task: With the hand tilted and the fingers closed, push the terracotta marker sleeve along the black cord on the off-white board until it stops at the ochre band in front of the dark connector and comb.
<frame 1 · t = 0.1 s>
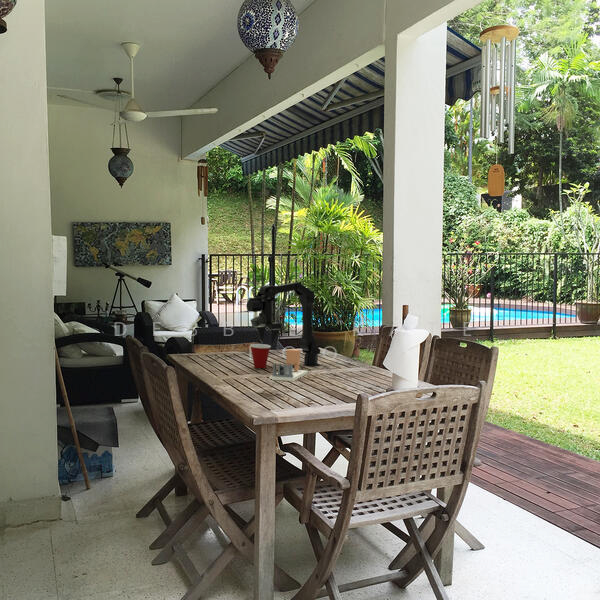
hand: (266, 341, 322), 15 cm above the table, tool pointing down, fingers open, 9 cm apart
fibre cord: (288, 368, 307), on the cord board, point 4 cm above the table
connector and comb: (283, 369, 302), on the cord board, point 4 cm above the table
cord board: (288, 376, 308), on the table
marker sleeve: (293, 360, 313), point 7 cm above the table, slide at 0.0 cm
plastic cup: (260, 368, 332), on the table
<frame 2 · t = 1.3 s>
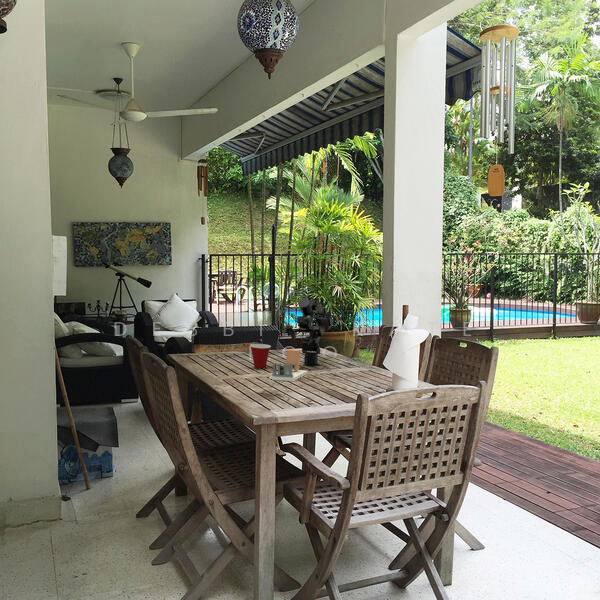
hand: (300, 344, 323), 13 cm above the table, tool tilted 45°, fingers open, 8 cm apart
nothing on the table moved.
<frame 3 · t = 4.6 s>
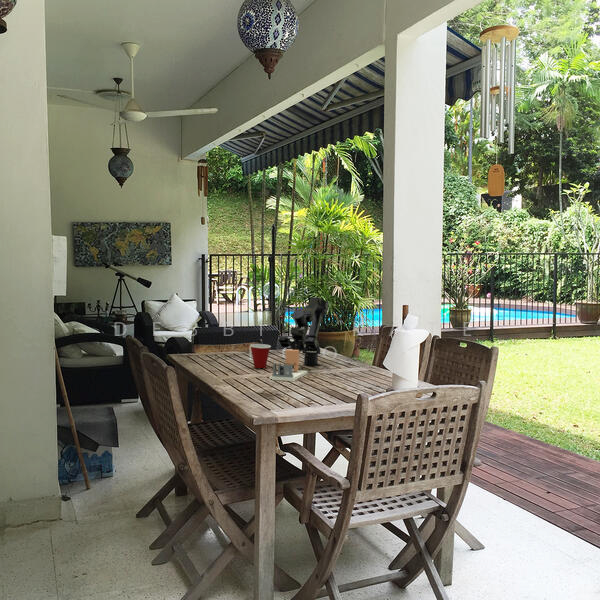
hand: (293, 356, 314), 9 cm above the table, tool tilted 45°, fingers closed, pressing on marker sleeve
marker sleeve: (292, 360, 313), point 7 cm above the table, slide at 0.9 cm, touching gripper
everything else where it was.
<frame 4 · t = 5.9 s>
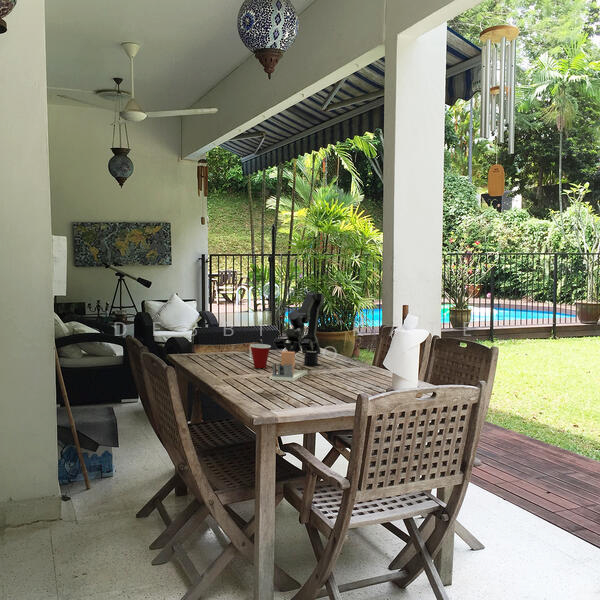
hand: (289, 358, 308), 9 cm above the table, tool tilted 45°, fingers closed, pressing on marker sleeve
marker sleeve: (288, 362, 307), point 7 cm above the table, slide at 7.2 cm, touching gripper
everything else where it was.
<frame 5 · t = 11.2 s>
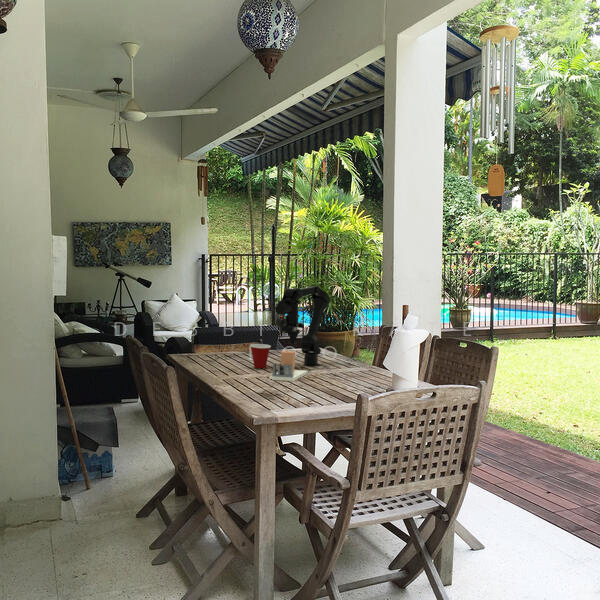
hand: (292, 343, 327), 13 cm above the table, tool pointing down, fingers closed
marker sleeve: (288, 362, 307), point 7 cm above the table, slide at 7.1 cm
everything else where it was.
at the end: marker sleeve slide at 7.1 cm; plastic cup moved 0.2 cm from its start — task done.
